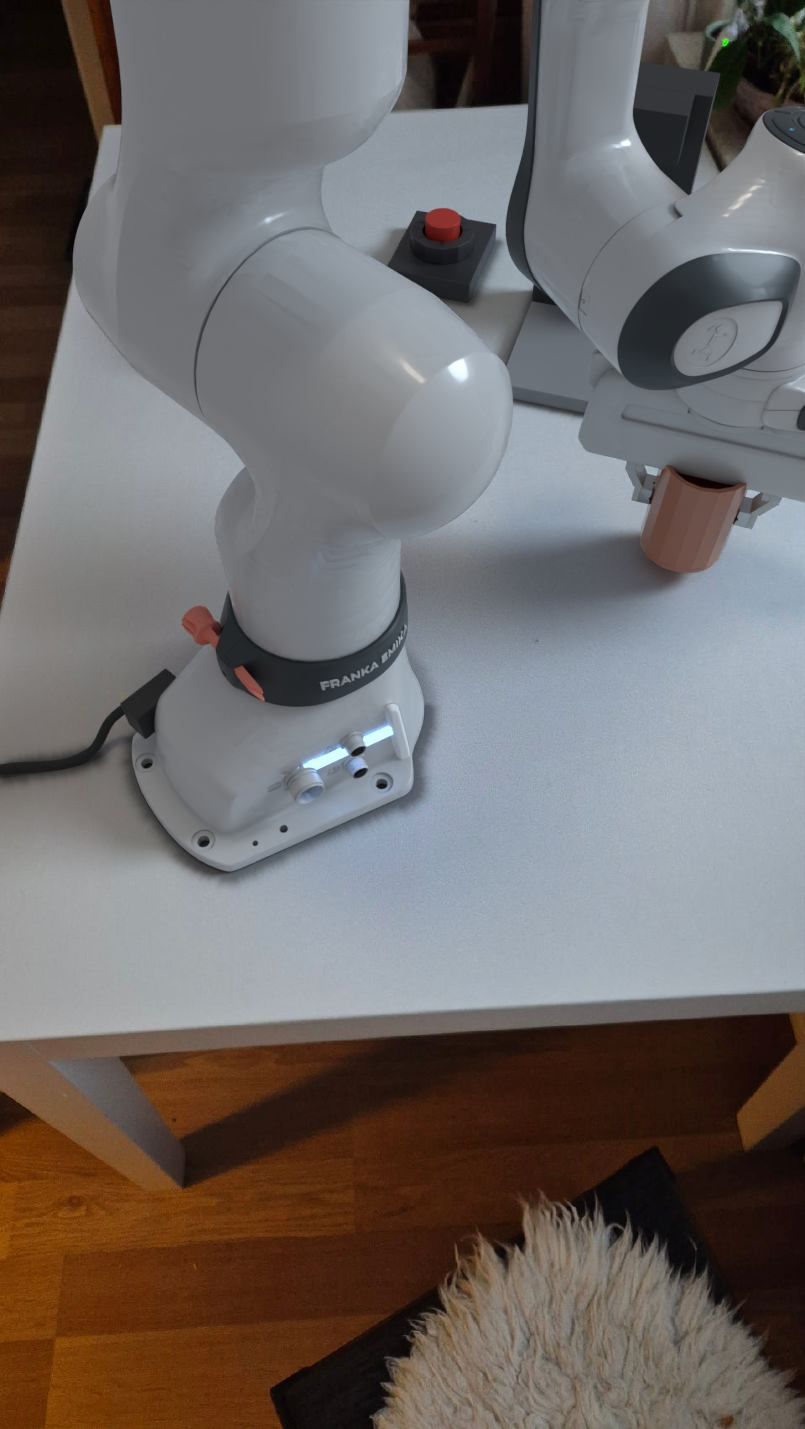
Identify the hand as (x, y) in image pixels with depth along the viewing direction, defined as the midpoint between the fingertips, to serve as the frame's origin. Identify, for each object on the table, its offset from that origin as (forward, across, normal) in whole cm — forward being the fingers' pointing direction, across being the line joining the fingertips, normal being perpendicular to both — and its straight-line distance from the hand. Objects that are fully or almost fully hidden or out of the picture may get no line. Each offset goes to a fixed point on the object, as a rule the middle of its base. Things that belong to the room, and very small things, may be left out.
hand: (692, 509), depth 81 cm
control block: (+5, -31, +33) cm, 46 cm away
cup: (+4, 0, 0) cm, 4 cm away
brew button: (+2, -31, +33) cm, 45 cm away
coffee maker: (+5, -14, +24) cm, 28 cm away
